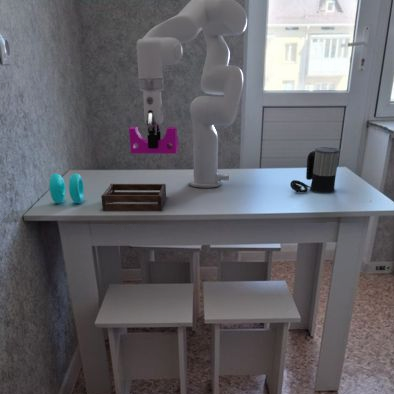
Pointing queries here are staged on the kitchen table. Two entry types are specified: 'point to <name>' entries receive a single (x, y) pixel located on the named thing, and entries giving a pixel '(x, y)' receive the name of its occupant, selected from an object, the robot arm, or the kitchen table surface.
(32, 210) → the kitchen table surface
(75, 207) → the kitchen table surface
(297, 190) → the milk frother
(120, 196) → the crate
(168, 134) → the magenta cradle bracket
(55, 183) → the donuts
